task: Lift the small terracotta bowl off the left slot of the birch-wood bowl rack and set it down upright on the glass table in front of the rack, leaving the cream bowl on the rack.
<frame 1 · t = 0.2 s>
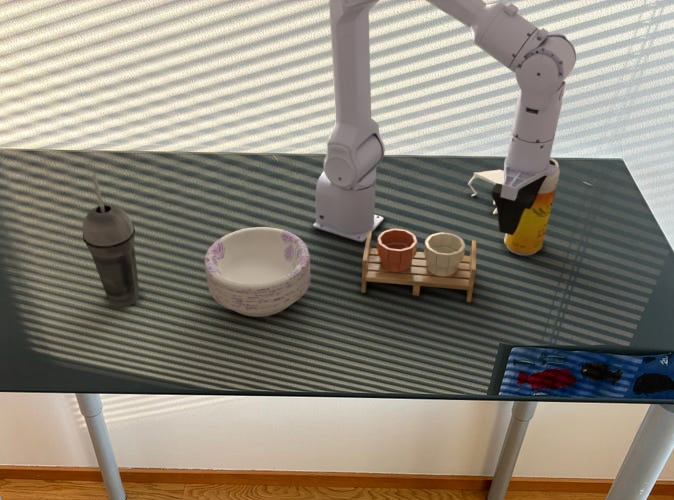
hand: (515, 219, 112), 10 cm above the table, tool pointing down, fingers open, 7 cm apart
terracotta bowl: (395, 264, 116), point 3 cm above the table, touching bowl rack
origami figure: (504, 204, 134), on the table
beverage cup: (124, 298, 115), on the table
beer can: (521, 247, 124), on the table
bowl rack: (417, 282, 117), on the table
cream bowl: (441, 268, 115), point 3 cm above the table, touching bowl rack
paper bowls: (260, 298, 115), on the table
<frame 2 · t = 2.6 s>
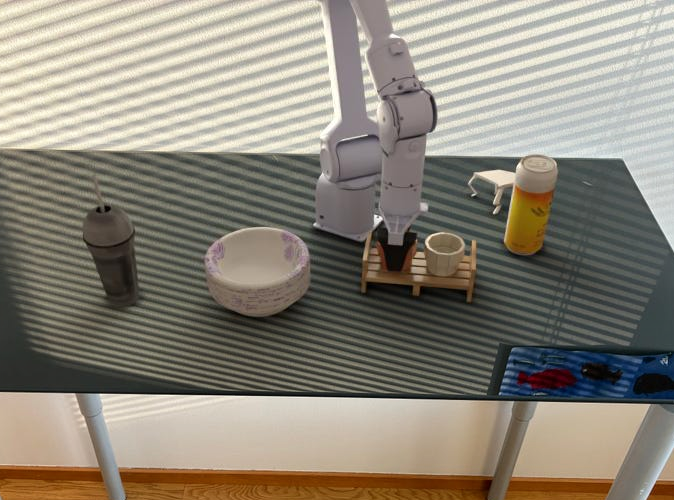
hand: (396, 257, 115), 4 cm above the table, tool pointing down, fingers closed on terracotta bowl, 5 cm apart
terracotta bowl: (395, 264, 116), point 3 cm above the table, touching bowl rack, gripper
everything else where it was.
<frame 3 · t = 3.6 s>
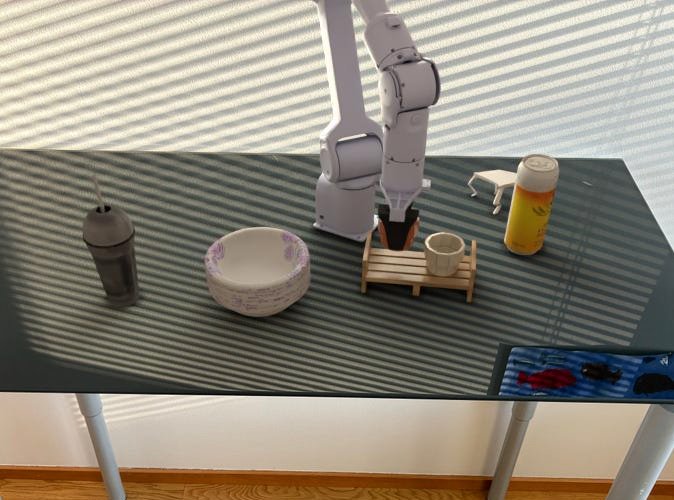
hand: (397, 236, 112), 8 cm above the table, tool pointing down, fingers closed on terracotta bowl, 5 cm apart
terracotta bowl: (396, 243, 113), point 7 cm above the table, touching gripper
everything else where it was.
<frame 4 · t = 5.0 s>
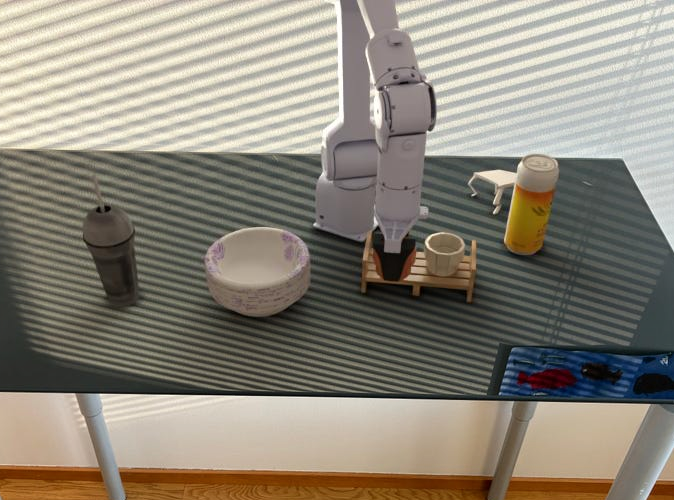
hand: (393, 266, 105), 9 cm above the table, tool pointing down, fingers closed on terracotta bowl, 5 cm apart
terracotta bowl: (392, 272, 106), point 8 cm above the table, touching gripper
everything else where it was.
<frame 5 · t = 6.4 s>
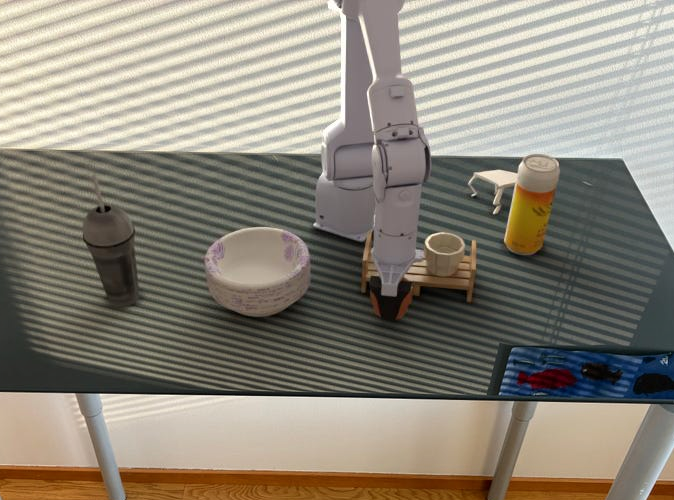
hand: (390, 304, 110), 2 cm above the table, tool pointing down, fingers closed on terracotta bowl, 5 cm apart
terracotta bowl: (389, 310, 111), point 1 cm above the table, touching gripper
everything else where it was.
when the fingers open (1 cm above the table, at t = 7.4 s): terracotta bowl stays where it is, on the table.
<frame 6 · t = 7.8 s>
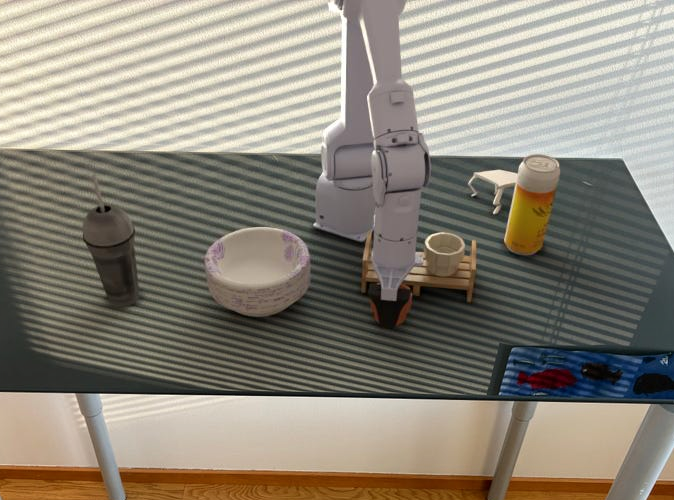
hand: (390, 308, 110), 2 cm above the table, tool pointing down, fingers open, 7 cm apart
terracotta bowl: (389, 317, 111), on the table
everything else where it was.
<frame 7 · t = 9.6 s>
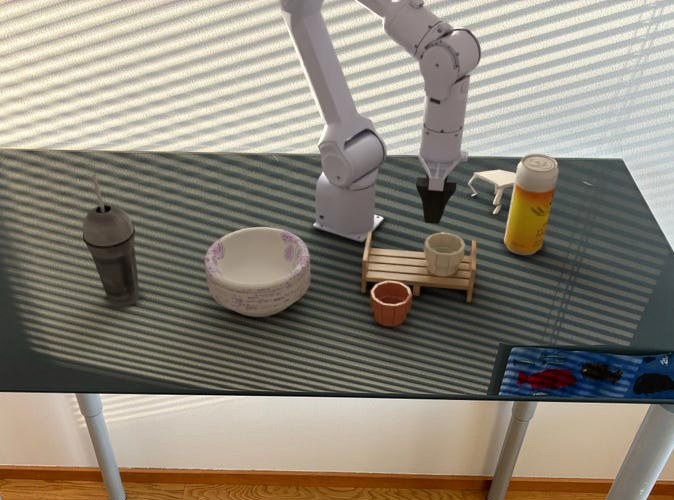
hand: (433, 208, 115), 9 cm above the table, tool pointing down, fingers open, 7 cm apart
nothing on the table moved.
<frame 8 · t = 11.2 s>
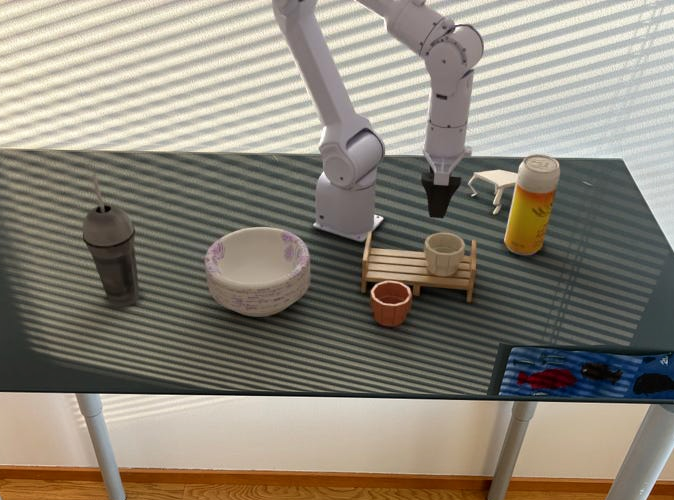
hand: (437, 203, 116), 9 cm above the table, tool pointing down, fingers open, 7 cm apart
nothing on the table moved.
at the end: terracotta bowl inside the target area (0.1 cm from its centre), on the table; terracotta bowl tilted 0°; cream bowl moved 0.0 cm from its start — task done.
